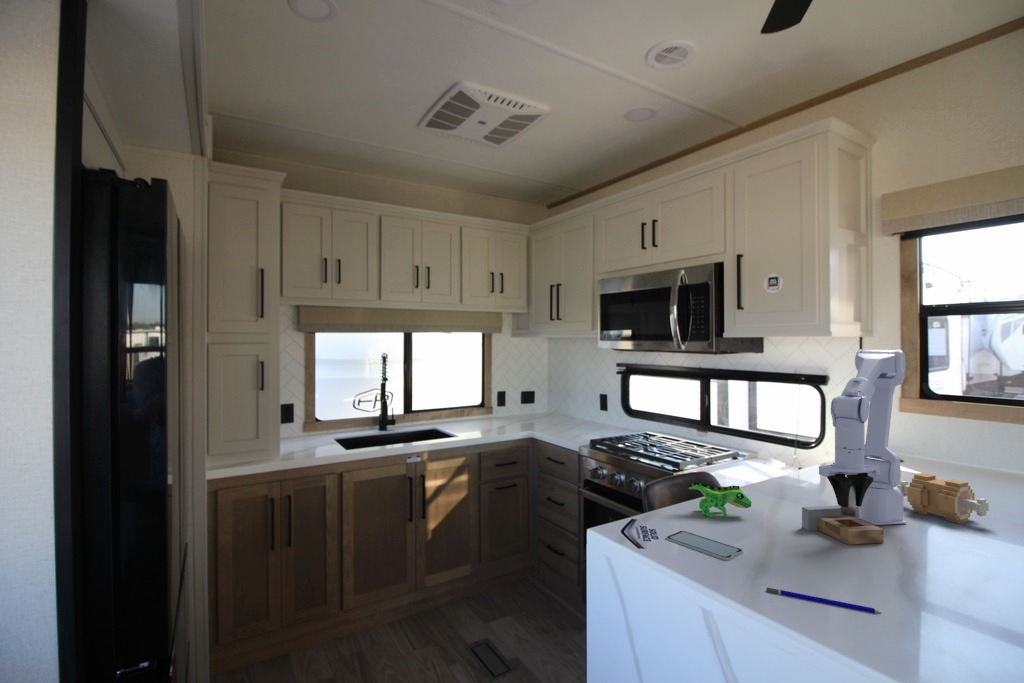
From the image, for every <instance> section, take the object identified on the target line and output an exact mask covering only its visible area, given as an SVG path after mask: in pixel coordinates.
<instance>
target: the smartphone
mask: <svg viewBox="0 0 1024 683" xmlns="http://www.w3.org/2000/svg"><path fill="white" fill-rule="evenodd" d="M665 540H666V541H670V542H672V543H675V544H678V545H681V546H683V547H687V548H688V549H692V550H695V551H697V552H700V553H703V554H705V555H709V556H711V557H714V558H717V559H719V560H722V561H726V562H728V561H732V560H733V559H735V558H737V557H739V556H741V555H742V554H743V553H744V550H743V549H742V548H739V547H737V546H736V547H735V546H734V545H730V544H726V543H724V542H720V541H718V540H716V539H715V540H714V539H710V538H708V537H704V536H702V535H699V534H695V533H692V532H689V531H686V530H679V531H676V532H674V533H672V534H669V535H666V537H665Z"/></svg>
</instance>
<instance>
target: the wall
mask: <svg viewBox="0 0 1024 683" xmlns="http://www.w3.org/2000/svg"><path fill="white" fill-rule="evenodd" d="M856 511H857V516H856V517H855V518H857V519H859V507H857V506H856ZM832 516H845V515H842V514H841V506H840V505H838V504H837V505H835V504H834V505H818V506H802V507H801V528H802V529H804V530H806V531H818V530H817V517H832Z"/></svg>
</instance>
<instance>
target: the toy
mask: <svg viewBox="0 0 1024 683" xmlns="http://www.w3.org/2000/svg"><path fill="white" fill-rule="evenodd" d="M688 486H689V487H688V488H687V490H698V491H699V492H700V493H701V494H702V495H703V496H704V497H703V498H701V499H700V500H699V503H698V504H699V507H698V508H699V509H700V510H701V513H702V515H705V516H706V517H709V518H713V515H714V514H713V513H712V512H711V510H710V509H711V508H713V507H714V508H716V509H718V510H720V511H721V512H722V514H723V516H724V517H725V518H727V517H728V513H727V508H726V507H725V506H726V505H727V504H730V505H732V506H734V507H736V508H741V509H749V508H752V500H751V498H750V497H749V496H748V495H747V494H746V493H745V492H744V491H742V490H741V489H740V486H739V485H728V486H721V487H719V486H718V487H717V486H716V487H715V486H711V485H708V484H706V483H701V482H693V483H690V484H688Z"/></svg>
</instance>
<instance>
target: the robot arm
mask: <svg viewBox="0 0 1024 683" xmlns="http://www.w3.org/2000/svg"><path fill="white" fill-rule="evenodd" d="M854 364H855V368H856V371H857V374H856V377H853V378H850V379H849V380H848V381H847V383H846V384H845V386H844V388H843V390H842V392H841V394H840V395H837V396H836V397H833V398H832V400H831V402H830V403H831V404H830V414H831V419H832V426H833V427H834V462H832V464H828V465H820V466H818V475H819V476H823V477H826V479H827V480H828V482H829V483H830V485H831V487H832V489H833V492H834V495H835V499H836V502H837V505H840V506H842V507H848V502H849V491H850V487H851V484H854V485H856V506H857V507H859V519H860V520H862V521H865V522H867V523H870V524H872V525H874V526H880V525H881V526H882V525H899V524H902V525H903V524H907V520H904V497H903V495H902V492H901V491H900V489H899V488H898V487H897V485H900V481H901V478H902V475H901V474H902V473H901V472H902V470H901V460H900V458H899V456H898V455H897V454H896V453H895V452H893V451H892V450H890V449H889V441H890V440H889V438H890V430H891V418H892V411H893V410H892V409H893V400H894V393H895V390H896V387H897V386H900V385H902V384H904V380H905V378H906V377H905V375H906V367H907V366H906V355H905V352H904V351H903V350H902V349H896V350H895V349H893V350H892V349H863V348H862V349H859V350H858V351H856V354H855V357H854ZM866 422H867V425H866V431H865V423H866ZM865 432H866V433H865Z"/></svg>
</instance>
